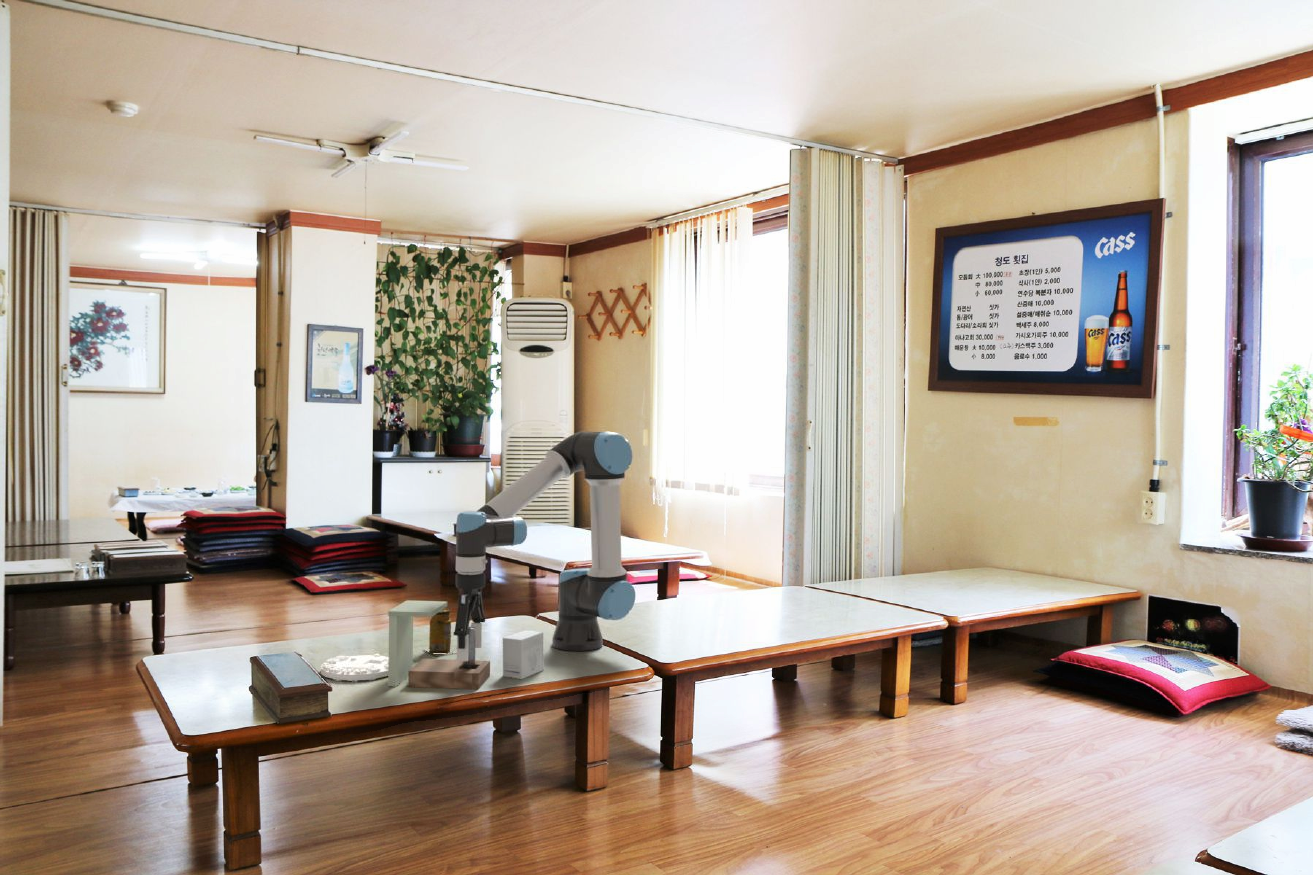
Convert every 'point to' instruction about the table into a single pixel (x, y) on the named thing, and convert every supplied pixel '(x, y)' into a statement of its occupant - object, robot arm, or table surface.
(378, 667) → the white round plaque
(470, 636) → the peg
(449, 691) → the table surface
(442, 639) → the condiment
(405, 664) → the pale green angled bracket
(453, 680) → the socket block
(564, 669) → the table surface
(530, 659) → the skincare box
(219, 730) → the table surface
